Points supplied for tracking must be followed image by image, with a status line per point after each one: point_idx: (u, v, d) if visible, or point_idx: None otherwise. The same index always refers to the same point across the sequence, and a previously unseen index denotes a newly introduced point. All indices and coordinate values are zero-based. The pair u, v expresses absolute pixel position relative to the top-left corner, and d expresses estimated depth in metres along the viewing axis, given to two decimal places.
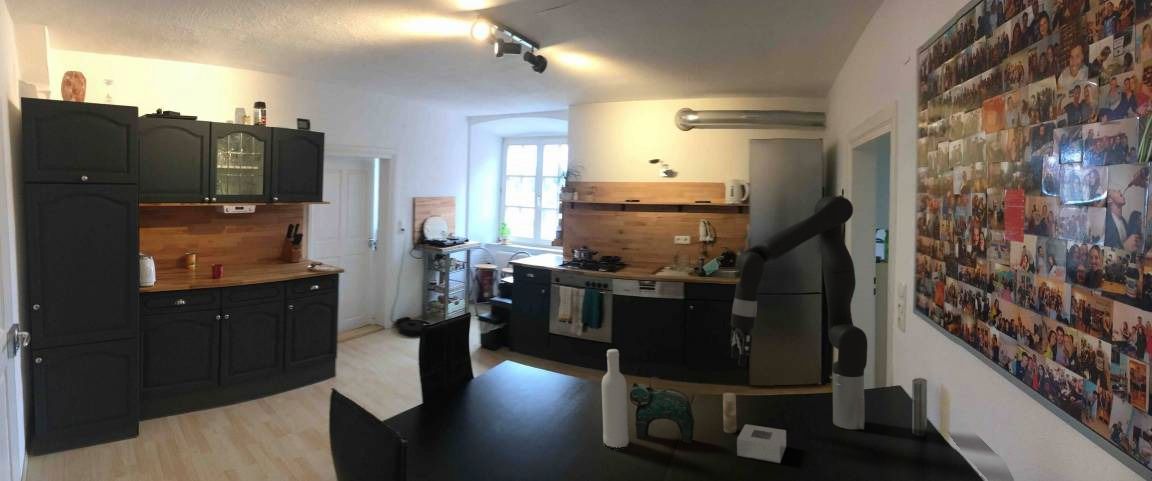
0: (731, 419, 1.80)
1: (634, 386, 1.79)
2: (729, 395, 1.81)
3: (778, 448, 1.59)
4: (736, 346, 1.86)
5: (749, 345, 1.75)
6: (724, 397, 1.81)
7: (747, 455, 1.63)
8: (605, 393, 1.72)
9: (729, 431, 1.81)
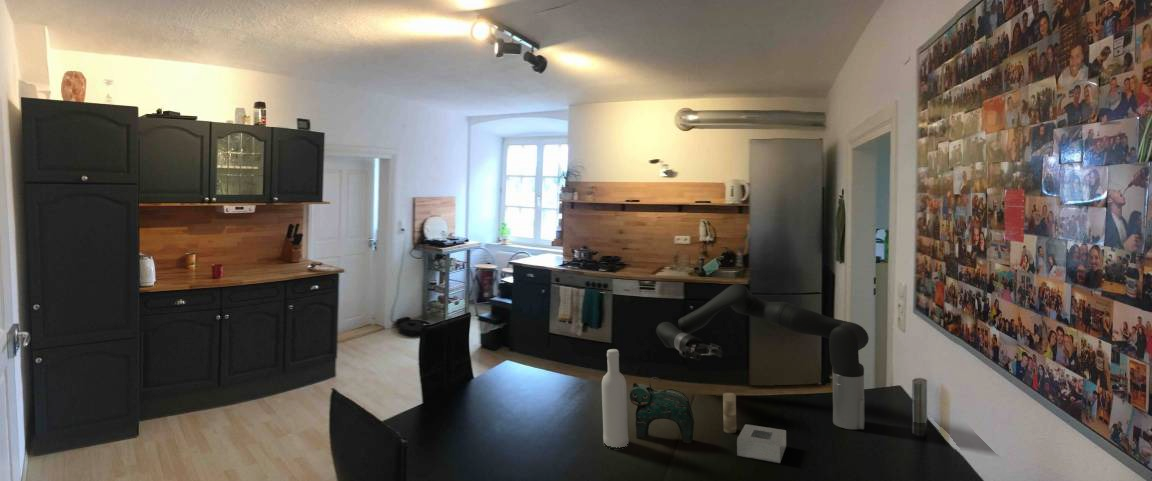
0: (731, 419, 1.80)
1: (634, 386, 1.79)
2: (729, 395, 1.81)
3: (778, 448, 1.59)
4: (715, 351, 1.97)
5: (682, 351, 1.97)
6: (724, 397, 1.81)
7: (747, 455, 1.63)
8: (605, 393, 1.72)
9: (729, 431, 1.81)
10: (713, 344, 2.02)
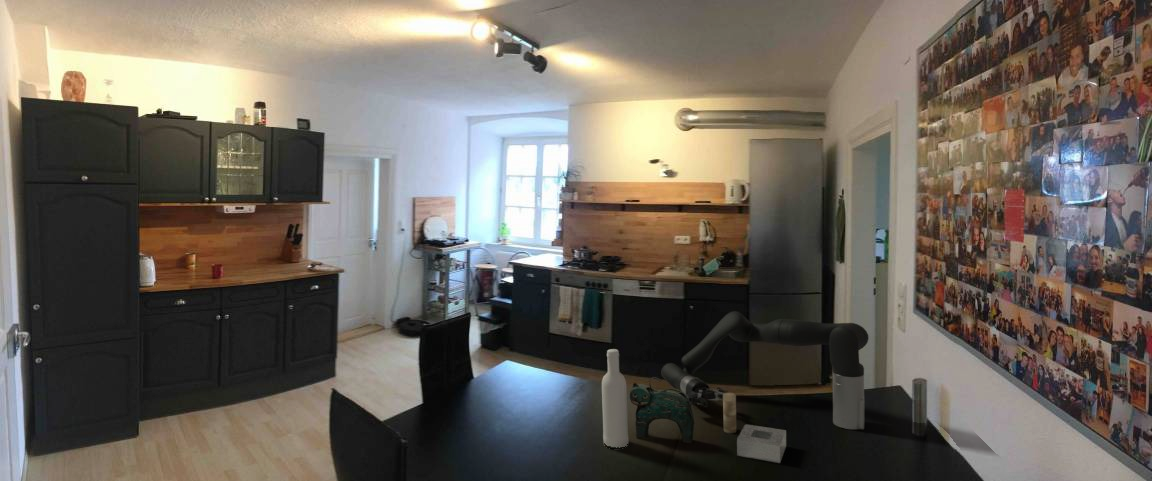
0: (731, 419, 1.80)
1: (634, 386, 1.79)
2: (729, 395, 1.81)
3: (778, 448, 1.59)
4: (722, 396, 1.94)
5: (688, 396, 1.94)
6: (724, 397, 1.81)
7: (747, 455, 1.63)
8: (605, 393, 1.72)
9: (729, 431, 1.81)
10: (720, 388, 1.99)
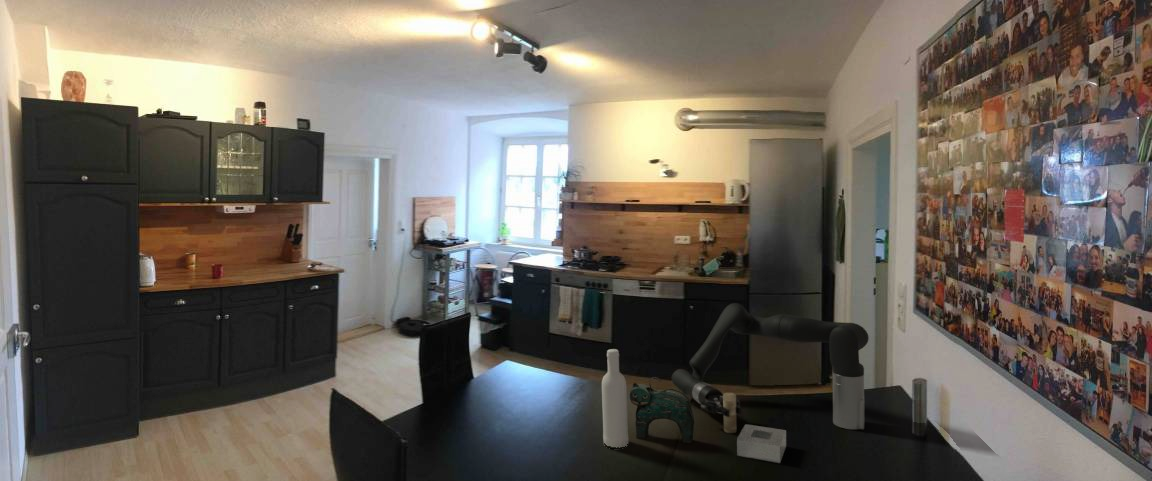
0: (731, 419, 1.80)
1: (634, 386, 1.79)
2: (729, 395, 1.81)
3: (778, 448, 1.59)
4: None
5: (707, 406, 1.84)
6: (724, 397, 1.81)
7: (747, 455, 1.63)
8: (605, 393, 1.72)
9: (729, 431, 1.81)
10: None
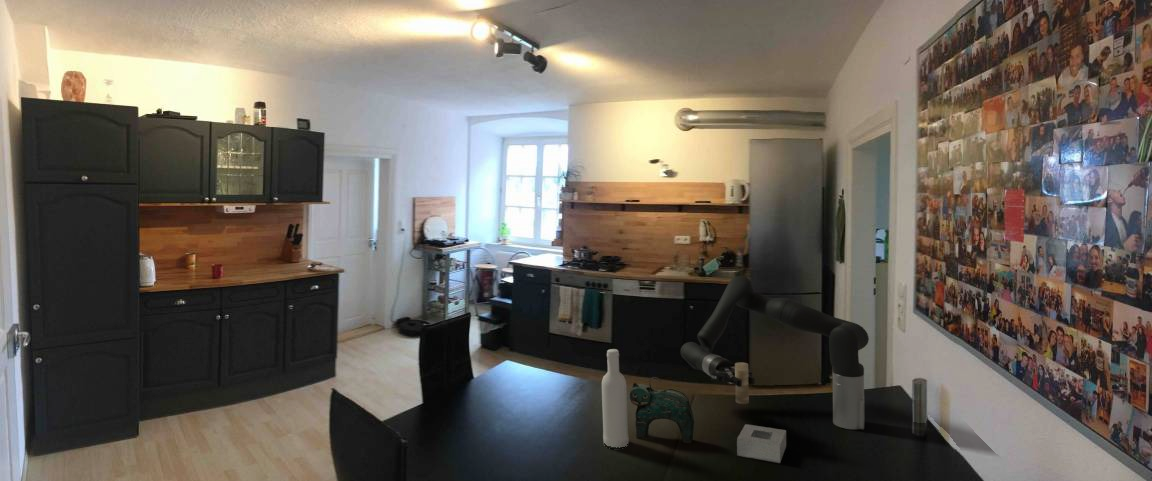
0: (744, 390, 1.73)
1: (634, 386, 1.79)
2: (741, 364, 1.74)
3: (778, 448, 1.59)
4: None
5: (718, 376, 1.77)
6: (736, 366, 1.74)
7: (747, 455, 1.63)
8: (605, 393, 1.72)
9: (741, 402, 1.74)
10: None
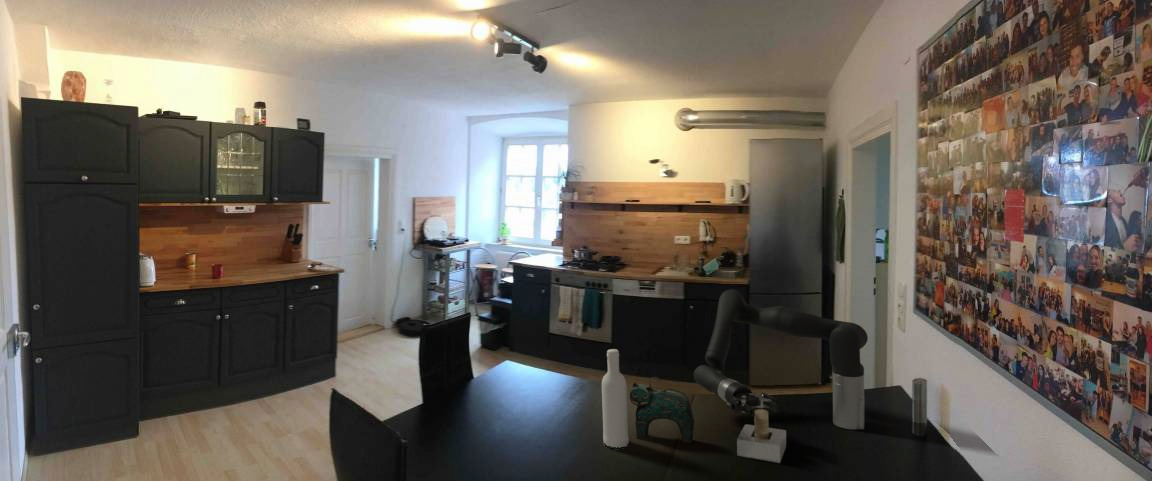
0: None
1: (634, 386, 1.79)
2: (761, 412, 1.66)
3: (778, 448, 1.59)
4: (768, 403, 1.69)
5: (731, 403, 1.69)
6: (756, 414, 1.66)
7: (747, 455, 1.63)
8: (605, 393, 1.72)
9: None
10: (765, 394, 1.74)
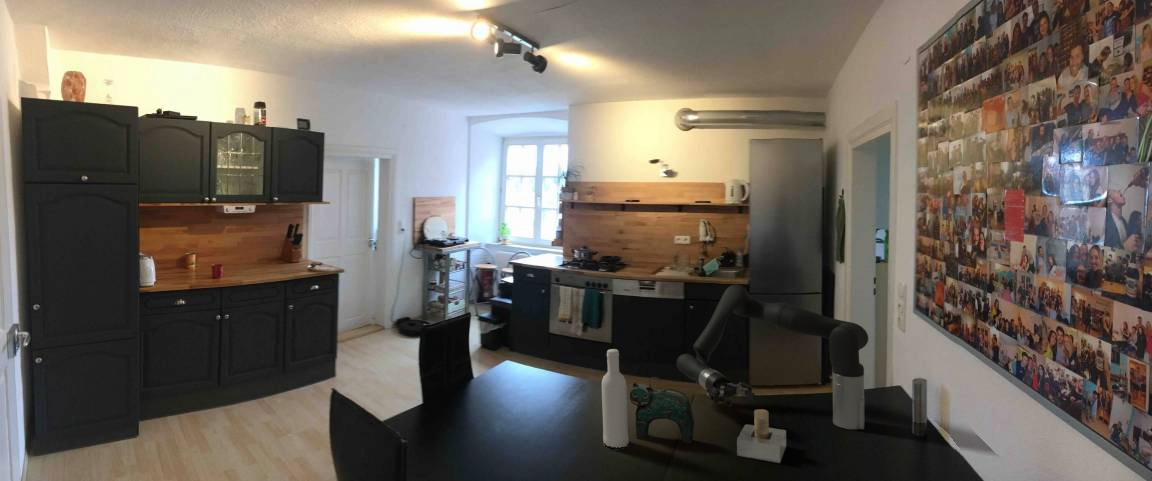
0: None
1: (634, 386, 1.79)
2: (761, 412, 1.66)
3: (778, 448, 1.59)
4: (745, 392, 1.83)
5: (710, 394, 1.82)
6: (756, 414, 1.66)
7: (747, 455, 1.63)
8: (605, 393, 1.72)
9: None
10: (742, 383, 1.87)
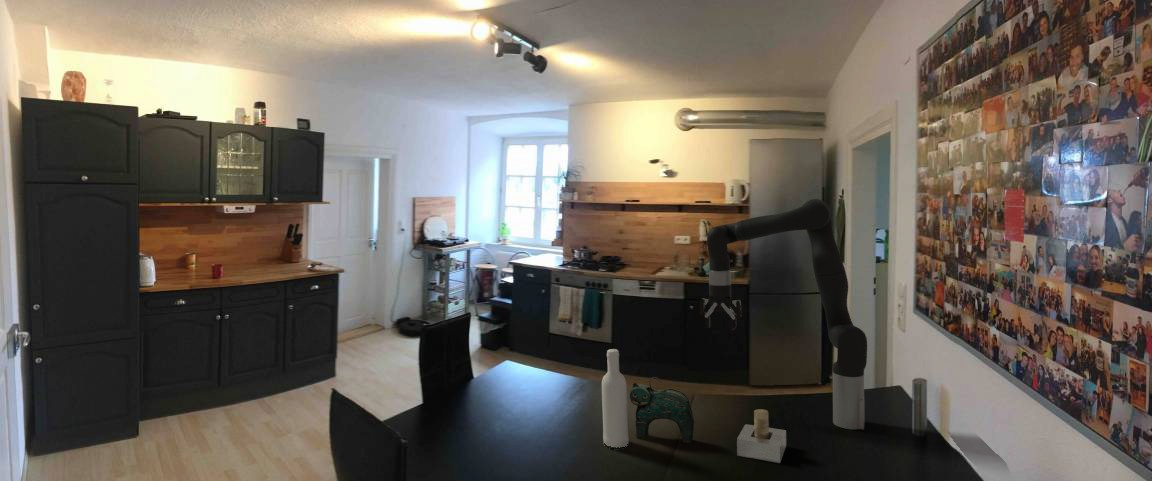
0: None
1: (634, 386, 1.79)
2: (761, 412, 1.66)
3: (778, 448, 1.59)
4: None
5: None
6: (756, 414, 1.66)
7: (747, 455, 1.63)
8: (605, 393, 1.72)
9: None
10: (737, 305, 1.92)
